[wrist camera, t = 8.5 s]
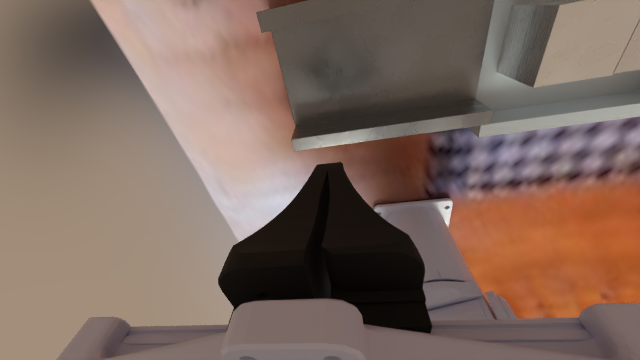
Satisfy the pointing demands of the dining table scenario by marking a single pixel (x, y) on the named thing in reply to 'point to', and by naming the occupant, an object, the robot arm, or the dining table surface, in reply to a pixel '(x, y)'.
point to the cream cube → (566, 39)
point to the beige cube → (630, 53)
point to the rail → (380, 67)
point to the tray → (547, 92)
